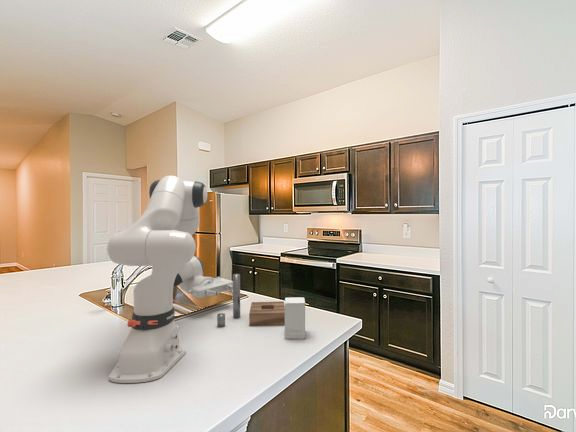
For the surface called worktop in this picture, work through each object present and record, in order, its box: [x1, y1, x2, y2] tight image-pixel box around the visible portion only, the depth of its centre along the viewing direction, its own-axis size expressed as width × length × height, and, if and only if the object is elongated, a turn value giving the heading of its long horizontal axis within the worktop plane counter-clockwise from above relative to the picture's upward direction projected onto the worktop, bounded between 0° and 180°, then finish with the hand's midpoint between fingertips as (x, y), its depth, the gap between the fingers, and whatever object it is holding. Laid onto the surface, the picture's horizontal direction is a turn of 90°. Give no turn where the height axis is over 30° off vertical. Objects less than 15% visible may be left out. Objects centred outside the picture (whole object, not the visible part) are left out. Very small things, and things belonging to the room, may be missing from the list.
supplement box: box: [284, 296, 306, 340], centre depth 108 cm, size 7×7×13 cm
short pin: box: [216, 312, 226, 328], centre depth 116 cm, size 3×3×4 cm
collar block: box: [248, 300, 285, 327], centre depth 123 cm, size 14×14×5 cm
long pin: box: [232, 273, 241, 319], centre depth 125 cm, size 3×3×18 cm
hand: (224, 291), depth 129 cm, fingers open, 8 cm apart
